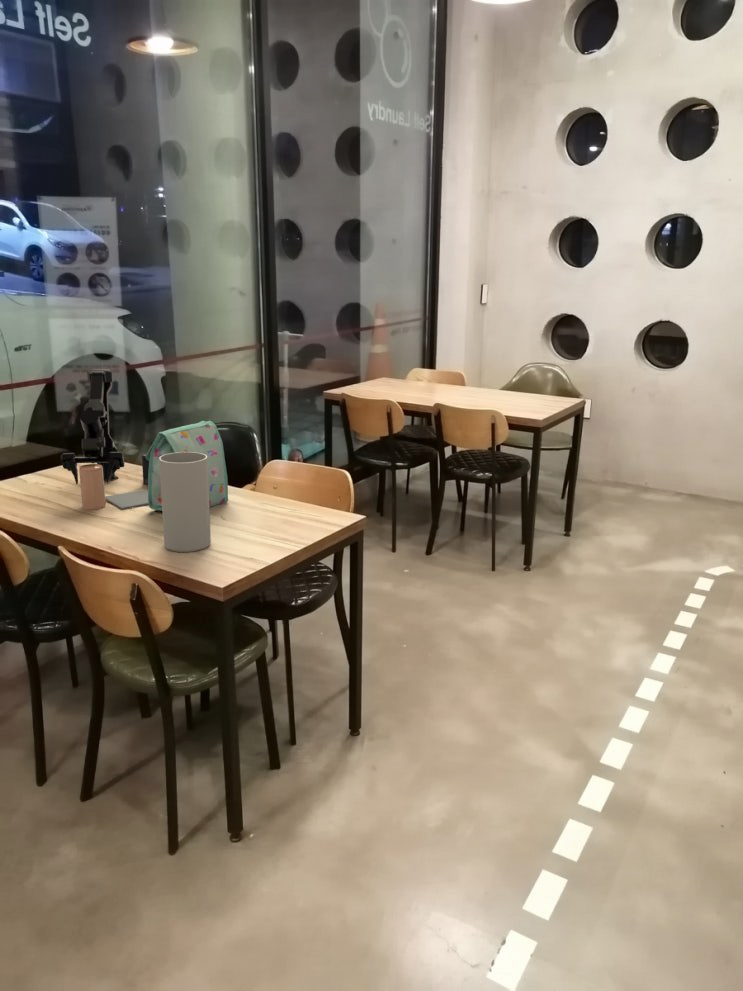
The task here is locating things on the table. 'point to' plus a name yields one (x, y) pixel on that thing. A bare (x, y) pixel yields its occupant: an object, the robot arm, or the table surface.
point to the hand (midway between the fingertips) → (92, 483)
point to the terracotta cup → (92, 486)
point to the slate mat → (129, 499)
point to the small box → (145, 469)
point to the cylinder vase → (185, 501)
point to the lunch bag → (189, 440)
